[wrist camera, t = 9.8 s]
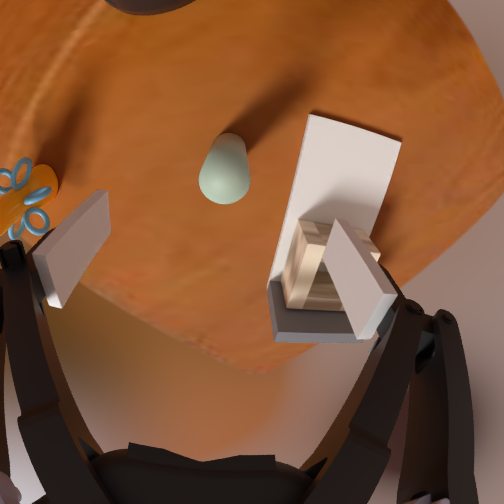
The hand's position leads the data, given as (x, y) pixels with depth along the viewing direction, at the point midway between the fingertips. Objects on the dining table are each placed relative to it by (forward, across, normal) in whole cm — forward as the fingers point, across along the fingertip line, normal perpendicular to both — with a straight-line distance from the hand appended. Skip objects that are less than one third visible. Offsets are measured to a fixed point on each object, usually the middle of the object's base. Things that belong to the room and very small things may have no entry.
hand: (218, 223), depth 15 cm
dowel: (+19, 0, 0) cm, 19 cm away
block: (+19, +15, -12) cm, 27 cm away
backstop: (+19, +15, -7) cm, 25 cm away
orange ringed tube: (+19, -27, -6) cm, 34 cm away
